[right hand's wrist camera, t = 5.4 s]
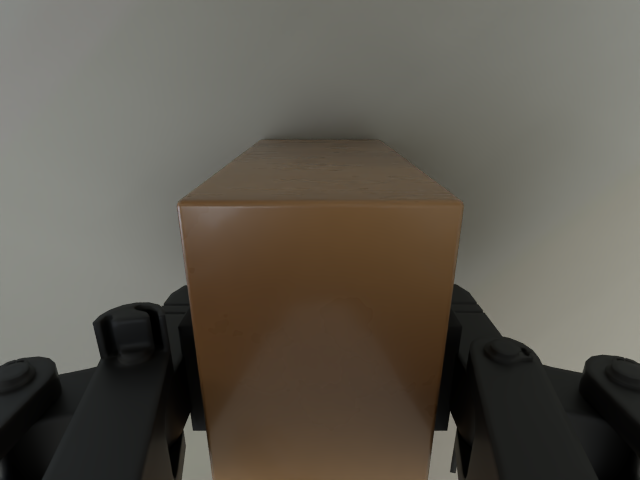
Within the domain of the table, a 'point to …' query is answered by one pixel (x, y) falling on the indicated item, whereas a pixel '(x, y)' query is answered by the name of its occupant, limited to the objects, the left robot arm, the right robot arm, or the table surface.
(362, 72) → the table surface
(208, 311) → the beam
